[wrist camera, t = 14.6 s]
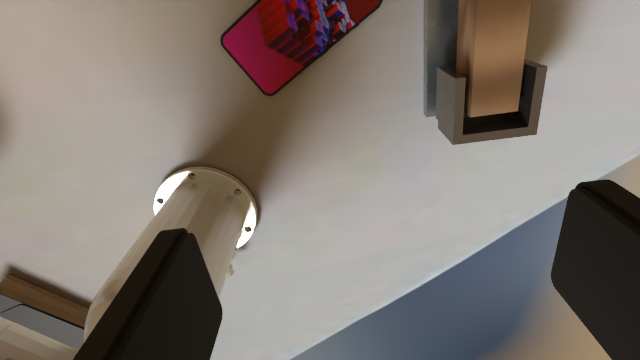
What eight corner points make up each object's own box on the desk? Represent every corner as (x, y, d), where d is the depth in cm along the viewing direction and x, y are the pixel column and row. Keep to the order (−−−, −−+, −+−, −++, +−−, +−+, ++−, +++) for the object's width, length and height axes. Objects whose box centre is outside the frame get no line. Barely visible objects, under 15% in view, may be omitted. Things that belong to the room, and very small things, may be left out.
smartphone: (215, 39, 35) (336, -78, 30) (218, 38, 35) (336, -76, 31) (268, 100, 37) (386, 2, 33) (270, 97, 38) (385, 1, 34)
